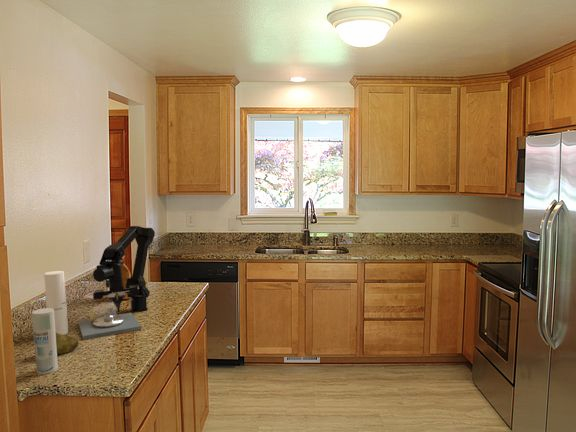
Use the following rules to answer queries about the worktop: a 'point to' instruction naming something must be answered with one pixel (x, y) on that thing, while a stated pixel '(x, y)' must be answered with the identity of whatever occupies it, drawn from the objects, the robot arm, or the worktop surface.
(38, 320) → the spray can
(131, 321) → the base board
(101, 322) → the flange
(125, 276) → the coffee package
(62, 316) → the cylindrical container
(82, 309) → the worktop surface
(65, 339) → the potato
